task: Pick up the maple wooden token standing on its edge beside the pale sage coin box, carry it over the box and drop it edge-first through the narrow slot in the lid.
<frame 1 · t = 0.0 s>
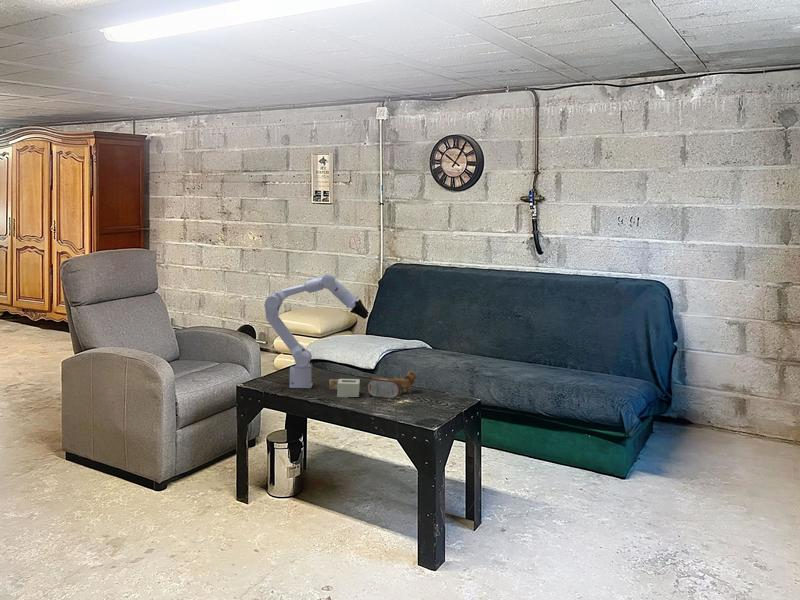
hand: (367, 316, 309), 32 cm above the table, tool tilted 50°, fingers open, 7 cm apart
token: (333, 388, 310), on the table
lion figurine: (401, 393, 307), on the table
coin box: (348, 394, 300), on the table
tin: (383, 398, 298), on the table
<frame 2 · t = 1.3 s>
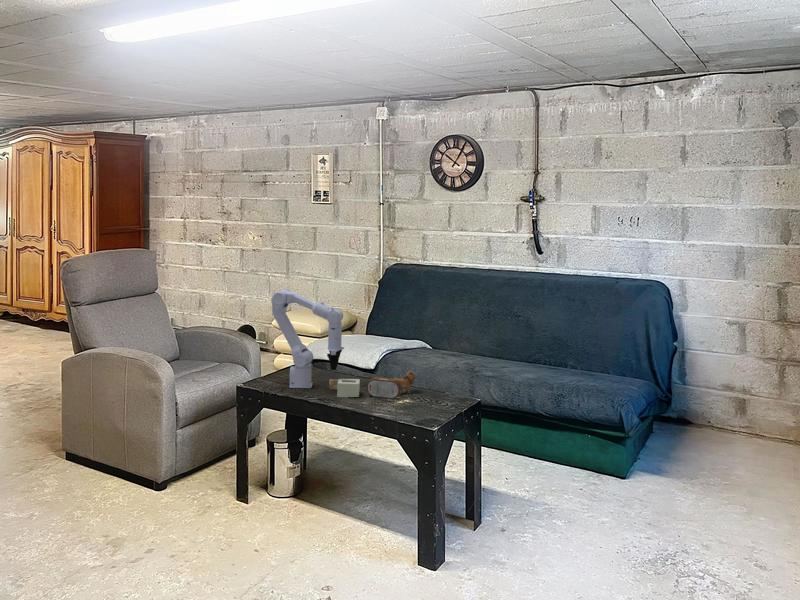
hand: (334, 367, 308), 9 cm above the table, tool pointing down, fingers open, 7 cm apart
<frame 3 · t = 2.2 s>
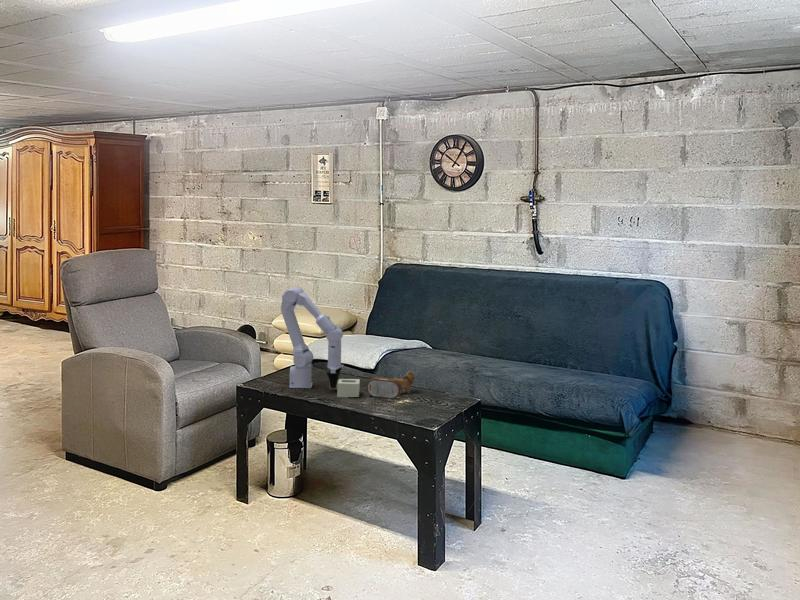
hand: (334, 385, 310), 1 cm above the table, tool pointing down, fingers open, 7 cm apart
nothing on the table moved.
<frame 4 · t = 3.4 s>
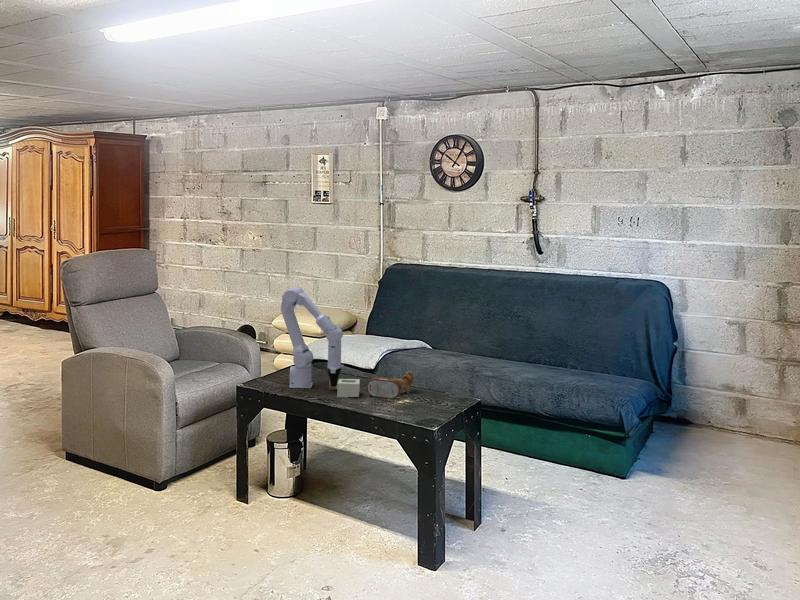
hand: (334, 385, 310), 1 cm above the table, tool pointing down, fingers closed on token, 2 cm apart
token: (333, 388, 310), on the table, touching gripper
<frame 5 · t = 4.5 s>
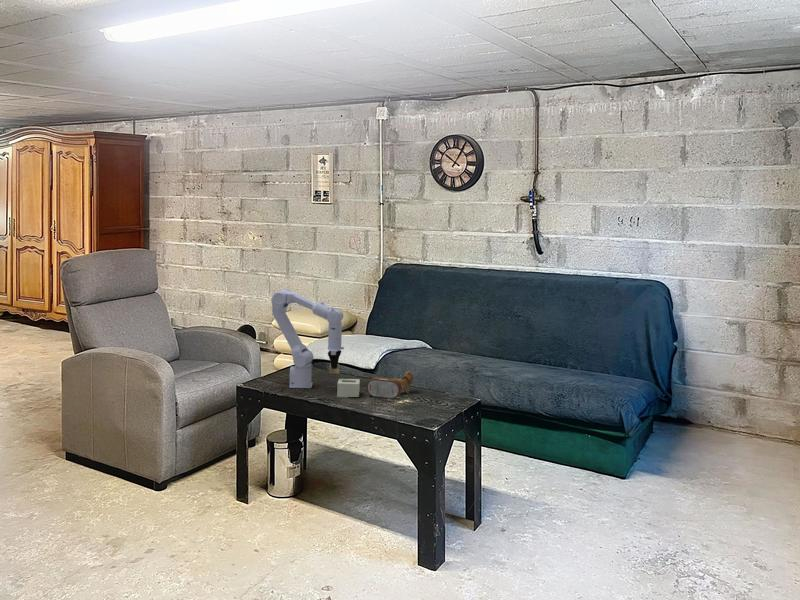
hand: (334, 367, 308), 9 cm above the table, tool pointing down, fingers closed on token
token: (334, 372, 309), point 7 cm above the table, touching gripper
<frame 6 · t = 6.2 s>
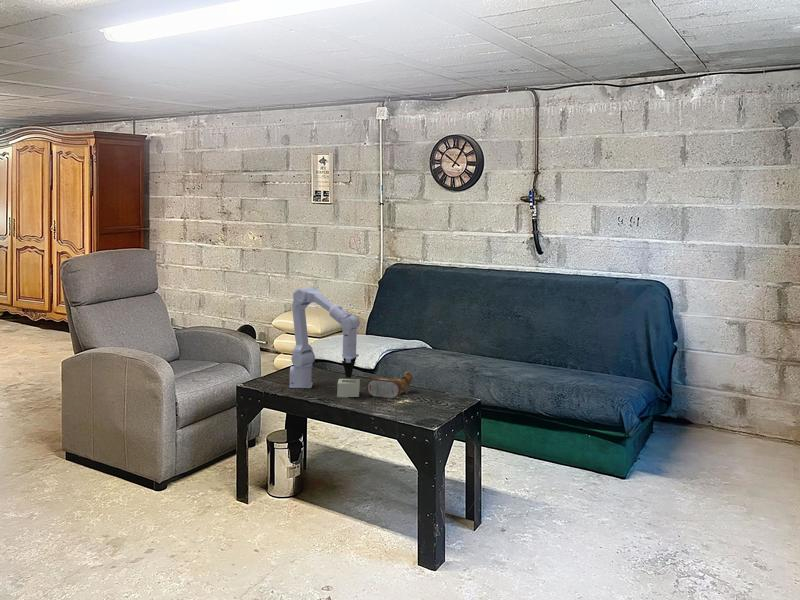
hand: (348, 375, 299), 8 cm above the table, tool pointing down, fingers open, 5 cm apart
token: (348, 395, 300), resting in coin box
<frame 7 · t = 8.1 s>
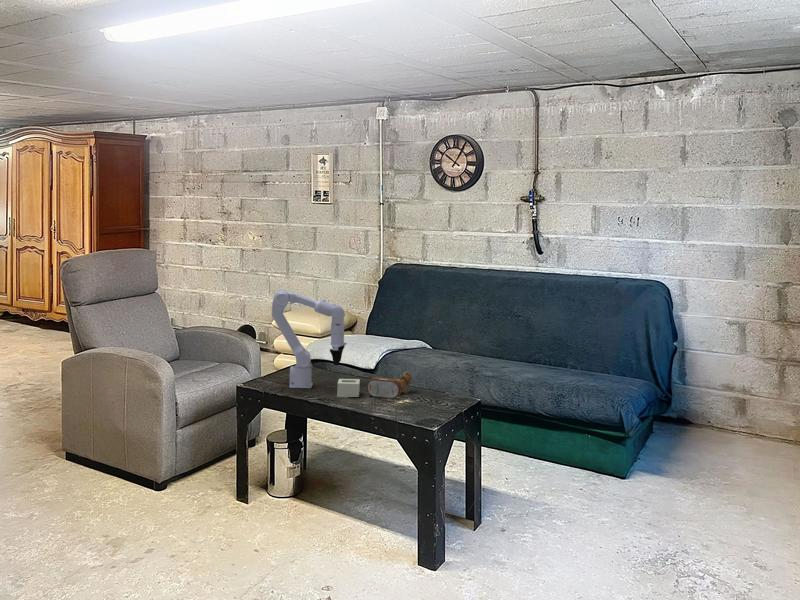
hand: (337, 363, 313), 10 cm above the table, tool pointing down, fingers open, 7 cm apart
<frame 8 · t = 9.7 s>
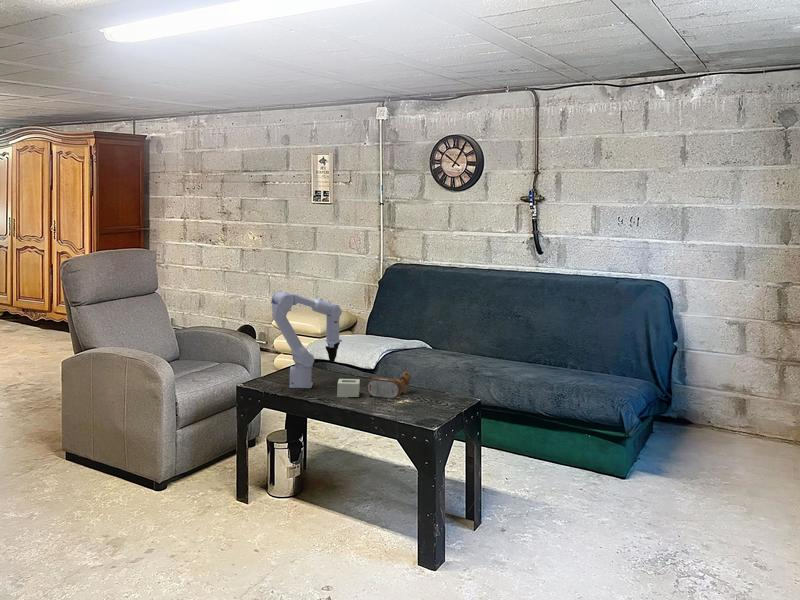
hand: (332, 359, 319), 10 cm above the table, tool pointing down, fingers open, 7 cm apart
at the end: token 0.1 cm off-centre on the coin box, point 0.0 cm above the coin box's base; the gripper is holding nothing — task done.
